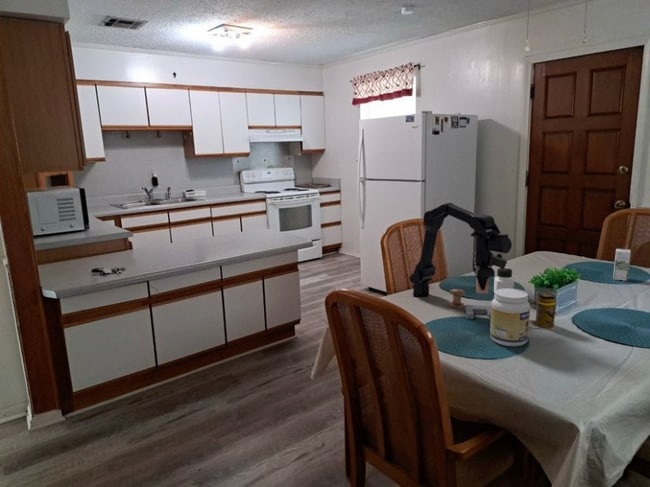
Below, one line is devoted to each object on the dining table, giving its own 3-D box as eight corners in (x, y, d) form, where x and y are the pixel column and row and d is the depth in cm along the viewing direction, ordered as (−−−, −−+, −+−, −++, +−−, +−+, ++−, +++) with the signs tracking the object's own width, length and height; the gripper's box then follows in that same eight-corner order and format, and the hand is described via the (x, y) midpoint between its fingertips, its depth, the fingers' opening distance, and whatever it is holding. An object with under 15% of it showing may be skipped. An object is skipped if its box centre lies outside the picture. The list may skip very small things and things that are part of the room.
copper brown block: (477, 293, 173) (477, 278, 171) (476, 289, 176) (476, 275, 175) (488, 293, 172) (488, 278, 170) (486, 290, 176) (487, 275, 174)
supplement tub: (524, 350, 146) (527, 300, 142) (486, 343, 152) (488, 295, 149) (530, 336, 156) (533, 289, 152) (494, 330, 162) (496, 285, 159)
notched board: (467, 318, 174) (467, 313, 173) (465, 309, 183) (465, 304, 183) (494, 319, 172) (494, 314, 171) (491, 310, 181) (491, 305, 181)
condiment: (556, 330, 161) (558, 298, 158) (530, 328, 163) (532, 296, 161) (552, 322, 168) (555, 291, 165) (528, 320, 170) (530, 290, 168)
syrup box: (627, 278, 216) (630, 249, 213) (627, 281, 211) (630, 251, 208) (613, 277, 219) (616, 247, 216) (613, 280, 214) (616, 250, 211)
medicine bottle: (513, 297, 195) (515, 270, 193) (496, 297, 197) (497, 270, 194) (510, 292, 202) (511, 266, 200) (493, 291, 204) (494, 266, 201)
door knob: (449, 308, 186) (450, 293, 184) (449, 303, 191) (449, 288, 190) (464, 308, 184) (465, 293, 183) (463, 303, 190) (464, 289, 189)
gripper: (510, 254, 160) (508, 296, 163) (501, 243, 178) (499, 281, 181) (477, 254, 162) (476, 295, 165) (471, 243, 180) (470, 281, 183)
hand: (481, 288), depth 174 cm, fingers closed on copper brown block, 4 cm apart
